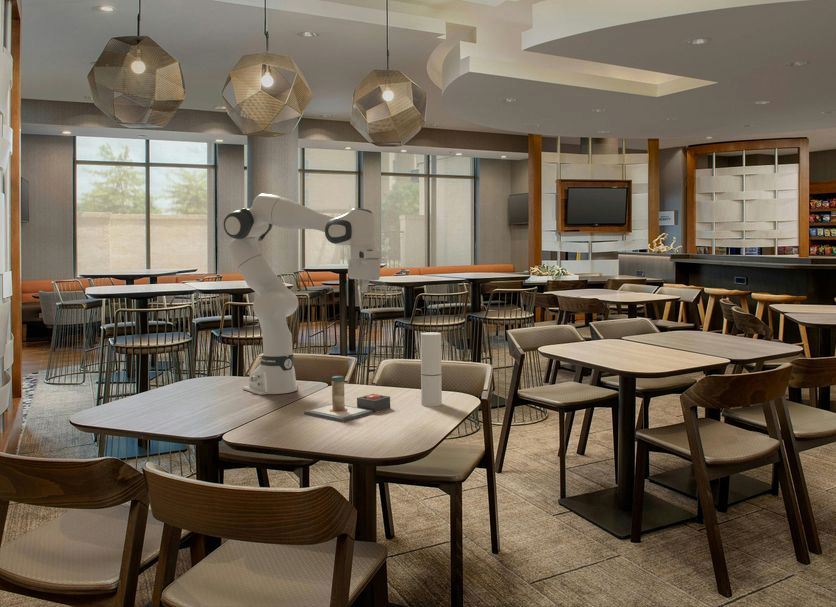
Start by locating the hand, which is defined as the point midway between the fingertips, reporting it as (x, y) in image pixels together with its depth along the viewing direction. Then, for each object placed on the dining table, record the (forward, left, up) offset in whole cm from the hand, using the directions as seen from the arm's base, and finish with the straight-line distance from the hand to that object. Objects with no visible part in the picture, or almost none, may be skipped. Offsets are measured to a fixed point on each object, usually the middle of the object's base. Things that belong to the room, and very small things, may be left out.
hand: (363, 292), depth 238 cm
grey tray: (+7, -21, -39) cm, 45 cm away
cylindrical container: (+24, +8, -39) cm, 47 cm away
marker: (+7, -21, -38) cm, 44 cm away
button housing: (+12, -9, -39) cm, 42 cm away
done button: (+12, -9, -38) cm, 41 cm away
